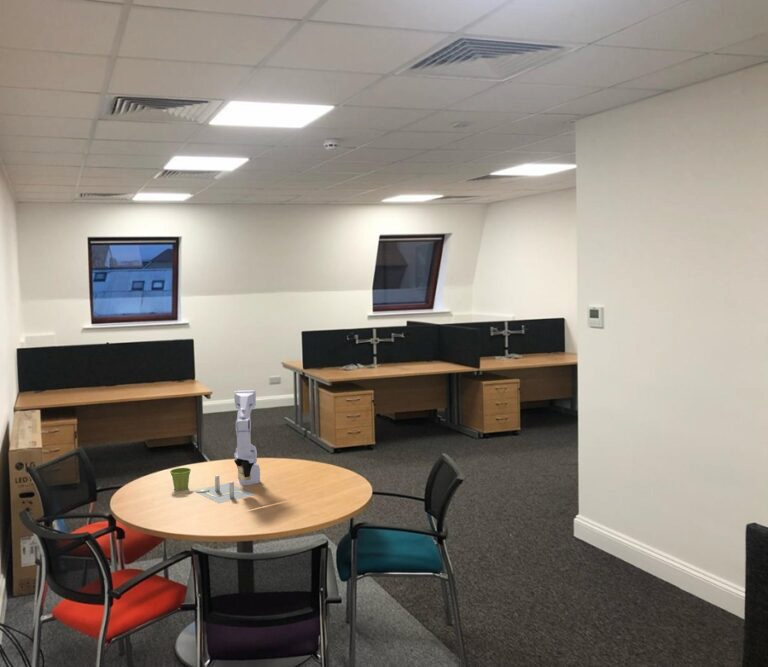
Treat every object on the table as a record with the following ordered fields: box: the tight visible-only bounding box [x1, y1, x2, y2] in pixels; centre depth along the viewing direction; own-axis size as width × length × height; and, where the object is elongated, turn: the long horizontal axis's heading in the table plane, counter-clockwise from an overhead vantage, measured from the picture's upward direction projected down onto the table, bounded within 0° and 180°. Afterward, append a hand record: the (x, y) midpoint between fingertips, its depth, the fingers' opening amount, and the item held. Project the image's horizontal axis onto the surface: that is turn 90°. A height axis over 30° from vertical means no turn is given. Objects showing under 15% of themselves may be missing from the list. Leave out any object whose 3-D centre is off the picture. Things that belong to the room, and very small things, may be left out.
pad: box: [195, 487, 210, 494], centre depth 330 cm, size 6×6×1 cm
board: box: [193, 474, 256, 504], centre depth 327 cm, size 18×24×8 cm
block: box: [237, 465, 251, 481], centre depth 324 cm, size 4×4×6 cm
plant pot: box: [169, 467, 192, 491], centre depth 336 cm, size 9×9×9 cm
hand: (244, 475), depth 324 cm, fingers closed on block, 4 cm apart
